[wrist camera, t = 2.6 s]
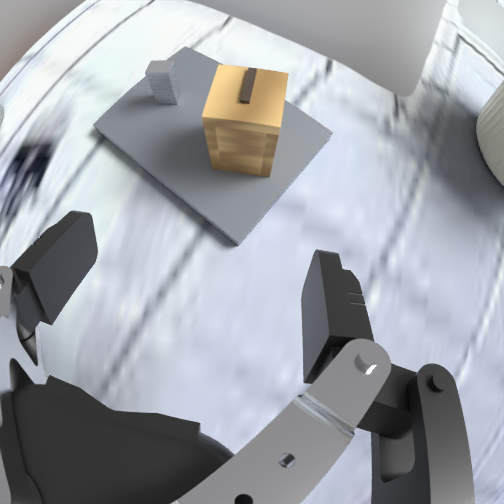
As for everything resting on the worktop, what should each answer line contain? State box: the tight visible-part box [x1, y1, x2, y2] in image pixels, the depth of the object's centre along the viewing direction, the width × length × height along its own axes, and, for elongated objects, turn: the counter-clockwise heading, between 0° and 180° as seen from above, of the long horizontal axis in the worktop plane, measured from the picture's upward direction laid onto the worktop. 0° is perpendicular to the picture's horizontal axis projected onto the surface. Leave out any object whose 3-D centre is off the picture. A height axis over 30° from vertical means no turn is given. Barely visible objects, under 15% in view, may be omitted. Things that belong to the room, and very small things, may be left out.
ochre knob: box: [202, 65, 288, 178], centre depth 21 cm, size 5×5×8 cm
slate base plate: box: [94, 46, 333, 246], centre depth 27 cm, size 20×14×2 cm
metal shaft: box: [145, 61, 182, 105], centre depth 24 cm, size 2×2×5 cm
